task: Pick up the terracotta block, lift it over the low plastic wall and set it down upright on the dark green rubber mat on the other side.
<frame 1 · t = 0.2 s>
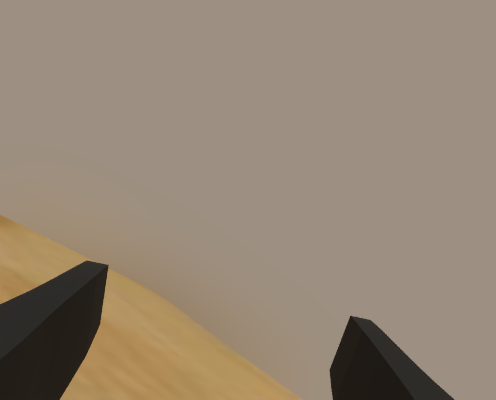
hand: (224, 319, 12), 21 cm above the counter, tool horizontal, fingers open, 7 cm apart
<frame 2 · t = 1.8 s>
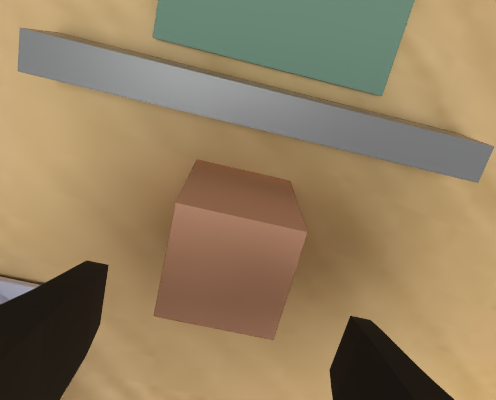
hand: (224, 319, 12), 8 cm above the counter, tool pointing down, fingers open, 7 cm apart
low wall: (260, 101, 18), on the counter
terracotta block: (233, 213, 20), on the counter
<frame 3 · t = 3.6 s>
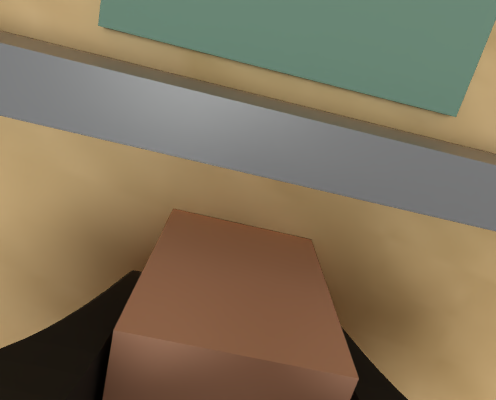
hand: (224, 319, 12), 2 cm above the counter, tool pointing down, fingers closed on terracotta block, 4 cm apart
low wall: (268, 124, 12), on the counter
terracotta block: (227, 284, 14), on the counter, touching gripper
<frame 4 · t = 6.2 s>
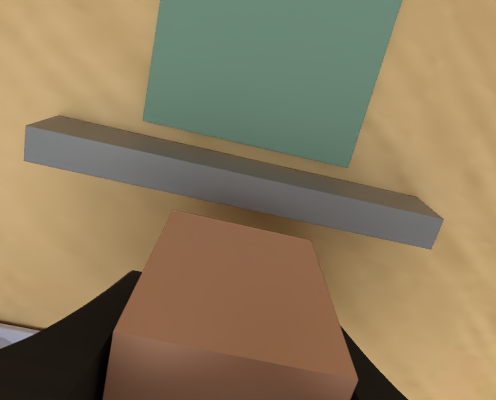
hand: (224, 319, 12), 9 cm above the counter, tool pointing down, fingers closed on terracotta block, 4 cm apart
low wall: (240, 172, 20), on the counter
terracotta block: (227, 285, 14), point 8 cm above the counter, touching gripper
rubber mat: (272, 34, 18), on the counter
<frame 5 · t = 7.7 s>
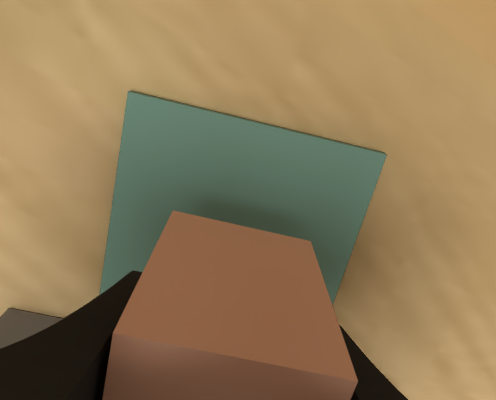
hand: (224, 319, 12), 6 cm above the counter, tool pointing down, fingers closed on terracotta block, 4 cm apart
low wall: (201, 359, 19), on the counter
terracotta block: (227, 285, 14), point 4 cm above the counter, touching gripper
rubber mat: (231, 237, 17), on the counter
when the fingers open (3 cm above the counter, at t = 9.1 s): terracotta block drops 1 cm, resting on rubber mat.
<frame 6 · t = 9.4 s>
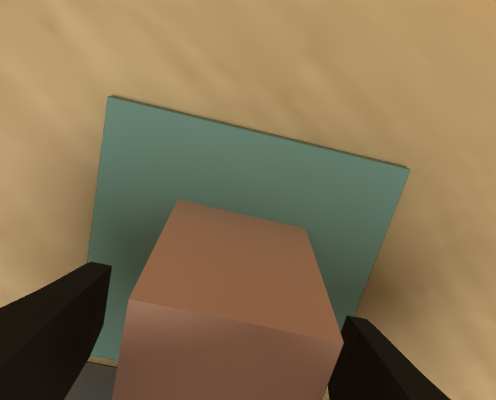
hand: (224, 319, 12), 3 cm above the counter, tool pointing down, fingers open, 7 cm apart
low wall: (195, 397, 17), on the counter
terracotta block: (228, 270, 15), resting on rubber mat
rubber mat: (229, 263, 15), on the counter
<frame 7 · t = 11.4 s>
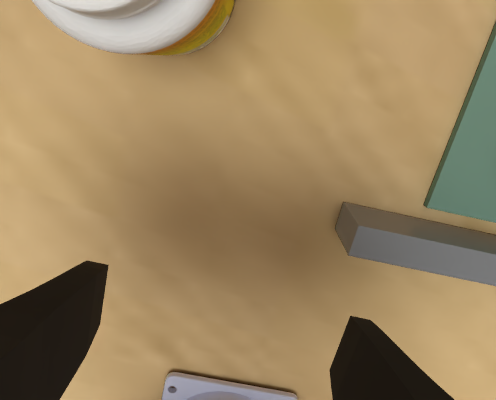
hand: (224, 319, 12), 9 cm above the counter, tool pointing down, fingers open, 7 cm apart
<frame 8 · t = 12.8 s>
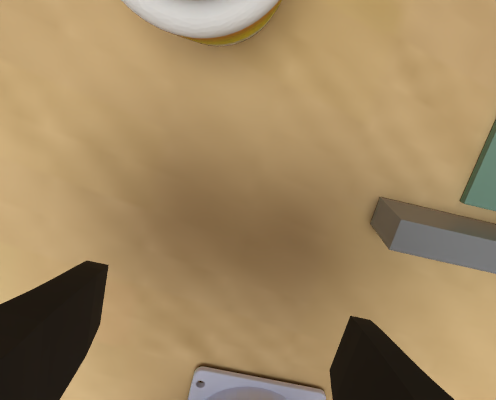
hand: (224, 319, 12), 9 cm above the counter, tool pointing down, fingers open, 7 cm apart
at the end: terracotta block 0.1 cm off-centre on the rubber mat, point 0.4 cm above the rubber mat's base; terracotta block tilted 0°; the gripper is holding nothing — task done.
